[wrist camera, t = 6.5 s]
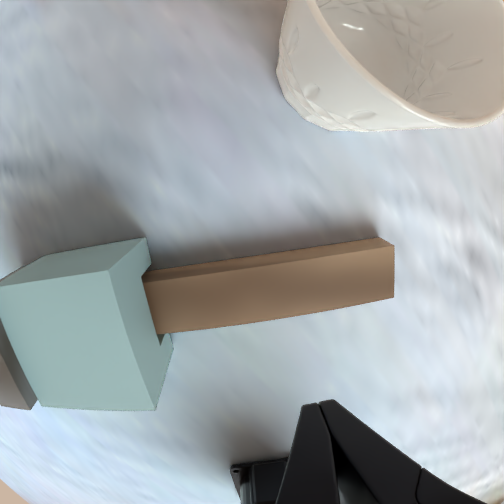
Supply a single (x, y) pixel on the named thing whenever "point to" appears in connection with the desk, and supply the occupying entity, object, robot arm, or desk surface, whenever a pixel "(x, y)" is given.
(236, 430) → the desk surface
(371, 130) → the white cup
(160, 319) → the rail
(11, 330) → the block
